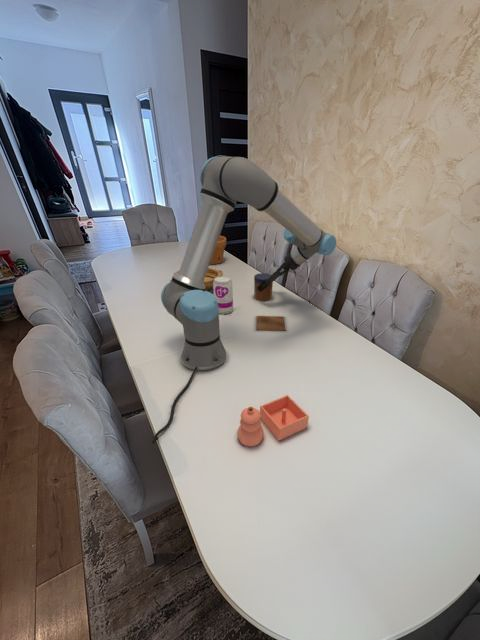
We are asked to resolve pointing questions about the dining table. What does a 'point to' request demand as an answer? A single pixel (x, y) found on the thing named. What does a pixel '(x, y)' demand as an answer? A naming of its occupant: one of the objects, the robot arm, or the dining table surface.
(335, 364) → the dining table surface
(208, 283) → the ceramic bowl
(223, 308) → the supplement can
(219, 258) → the flower pot
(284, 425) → the pottery
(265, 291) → the jar
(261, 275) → the jar lid
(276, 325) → the coaster
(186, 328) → the robot arm
